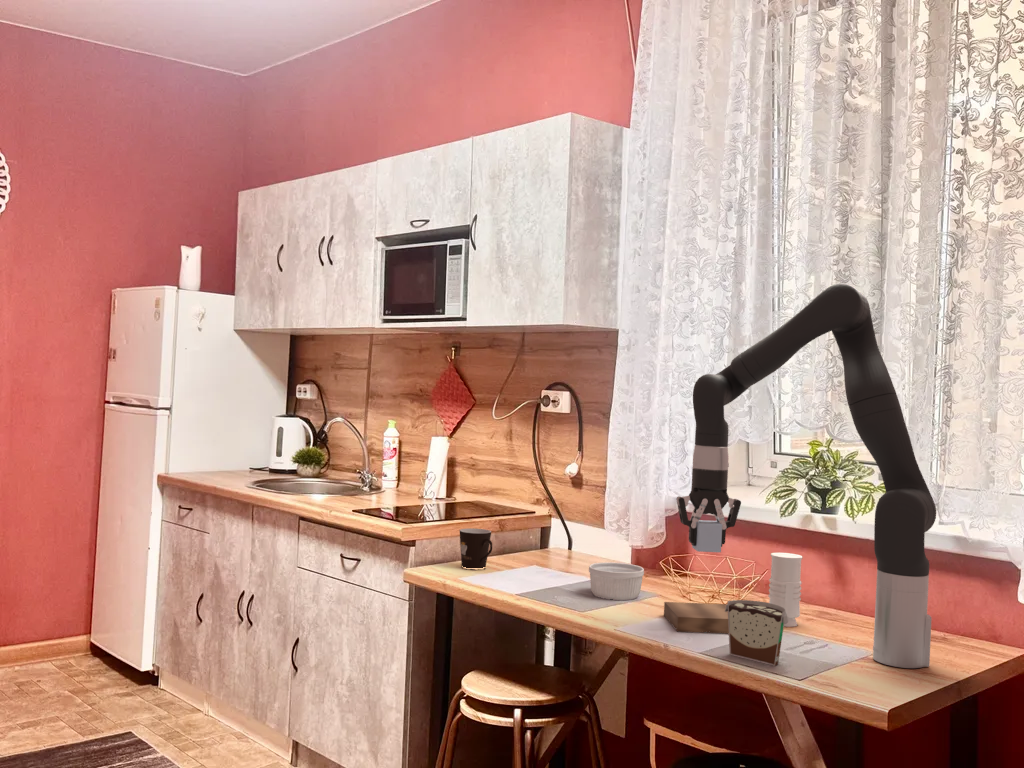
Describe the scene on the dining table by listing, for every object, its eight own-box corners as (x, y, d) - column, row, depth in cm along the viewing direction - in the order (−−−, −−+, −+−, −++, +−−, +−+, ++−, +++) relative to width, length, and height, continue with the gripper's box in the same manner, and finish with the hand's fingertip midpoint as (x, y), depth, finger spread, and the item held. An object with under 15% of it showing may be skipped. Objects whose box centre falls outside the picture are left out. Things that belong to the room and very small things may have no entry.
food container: (797, 661, 178) (800, 608, 178) (782, 667, 173) (785, 613, 173) (738, 647, 186) (740, 596, 186) (722, 652, 182) (725, 600, 182)
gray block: (714, 548, 206) (716, 520, 206) (720, 552, 201) (722, 524, 201) (692, 547, 206) (693, 520, 206) (697, 551, 201) (699, 523, 201)
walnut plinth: (725, 617, 211) (726, 604, 211) (744, 634, 197) (744, 619, 197) (663, 615, 210) (664, 601, 210) (677, 631, 196) (678, 617, 196)
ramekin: (590, 600, 222) (592, 571, 222) (584, 588, 235) (586, 560, 235) (647, 603, 223) (648, 573, 223) (637, 591, 236) (639, 563, 236)
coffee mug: (455, 564, 258) (457, 528, 259) (486, 565, 260) (488, 528, 260) (461, 573, 247) (463, 534, 247) (493, 573, 249) (495, 535, 249)
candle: (771, 626, 205) (775, 557, 205) (763, 618, 212) (766, 551, 212) (803, 628, 205) (807, 558, 205) (794, 620, 212) (797, 553, 212)
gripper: (738, 467, 208) (734, 544, 208) (673, 464, 207) (669, 541, 207) (748, 469, 200) (744, 550, 200) (681, 466, 200) (677, 547, 200)
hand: (706, 545), depth 204 cm, fingers closed on gray block, 5 cm apart
